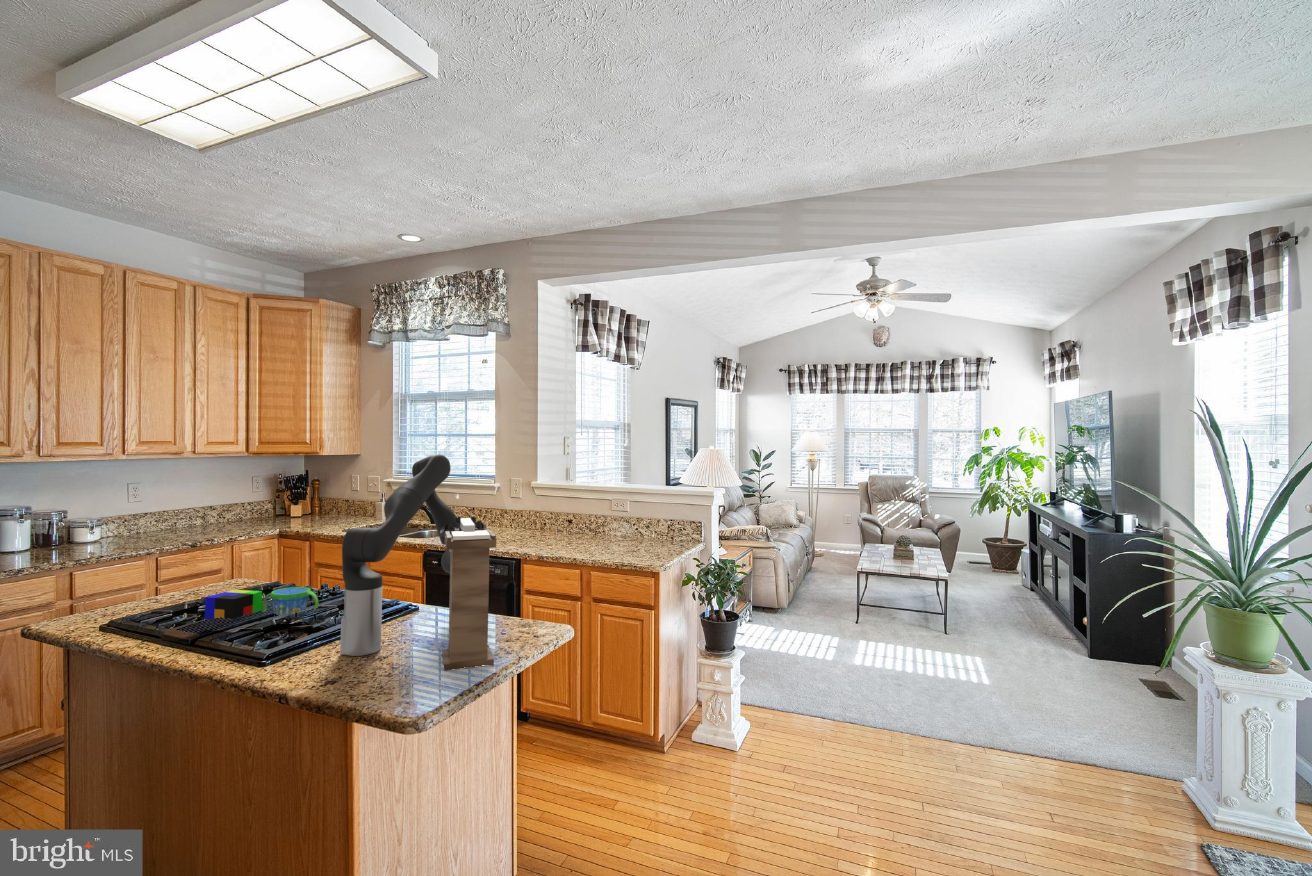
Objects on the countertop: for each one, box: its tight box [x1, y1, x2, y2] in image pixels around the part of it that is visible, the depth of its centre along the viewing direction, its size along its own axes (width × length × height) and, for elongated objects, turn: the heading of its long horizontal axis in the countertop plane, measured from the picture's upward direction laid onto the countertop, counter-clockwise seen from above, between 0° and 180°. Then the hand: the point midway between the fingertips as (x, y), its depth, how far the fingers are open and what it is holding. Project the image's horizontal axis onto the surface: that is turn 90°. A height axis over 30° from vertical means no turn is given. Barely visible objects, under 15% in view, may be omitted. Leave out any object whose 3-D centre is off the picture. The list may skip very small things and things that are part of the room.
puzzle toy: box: [204, 589, 263, 620], centre depth 181 cm, size 10×10×10 cm
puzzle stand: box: [441, 529, 497, 672], centre depth 156 cm, size 12×12×33 cm
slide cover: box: [451, 517, 490, 540], centre depth 163 cm, size 26×9×2 cm, turn 22°
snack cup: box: [261, 586, 319, 615], centre depth 186 cm, size 16×10×10 cm
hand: (466, 518), depth 170 cm, fingers closed on slide cover, 3 cm apart
